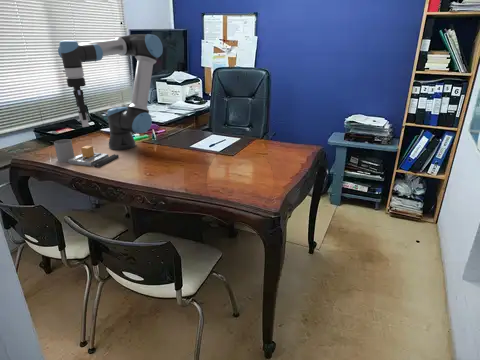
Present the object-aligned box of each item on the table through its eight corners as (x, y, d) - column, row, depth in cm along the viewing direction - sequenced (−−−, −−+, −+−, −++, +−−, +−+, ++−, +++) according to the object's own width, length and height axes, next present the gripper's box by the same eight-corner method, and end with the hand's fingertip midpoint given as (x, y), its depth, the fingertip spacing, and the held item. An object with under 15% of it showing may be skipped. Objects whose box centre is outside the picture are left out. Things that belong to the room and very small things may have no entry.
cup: (56, 162, 179) (52, 144, 175) (59, 157, 186) (55, 139, 182) (73, 161, 181) (70, 143, 177) (76, 156, 188) (72, 138, 184)
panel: (87, 155, 190) (86, 150, 189) (108, 157, 186) (108, 152, 185) (68, 163, 178) (67, 158, 177) (91, 166, 174) (90, 161, 173)
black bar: (113, 156, 188) (113, 154, 187) (118, 157, 187) (118, 154, 186) (93, 167, 173) (92, 164, 172) (98, 167, 172) (98, 164, 171)
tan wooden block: (87, 155, 183) (86, 145, 181) (94, 155, 182) (92, 146, 180) (82, 157, 180) (81, 147, 178) (89, 158, 179) (87, 148, 177)
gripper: (64, 74, 164) (73, 118, 172) (67, 81, 143) (78, 130, 152) (81, 73, 167) (89, 116, 175) (87, 80, 147) (96, 128, 155)
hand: (84, 123), depth 164 cm, fingers open, 13 cm apart
